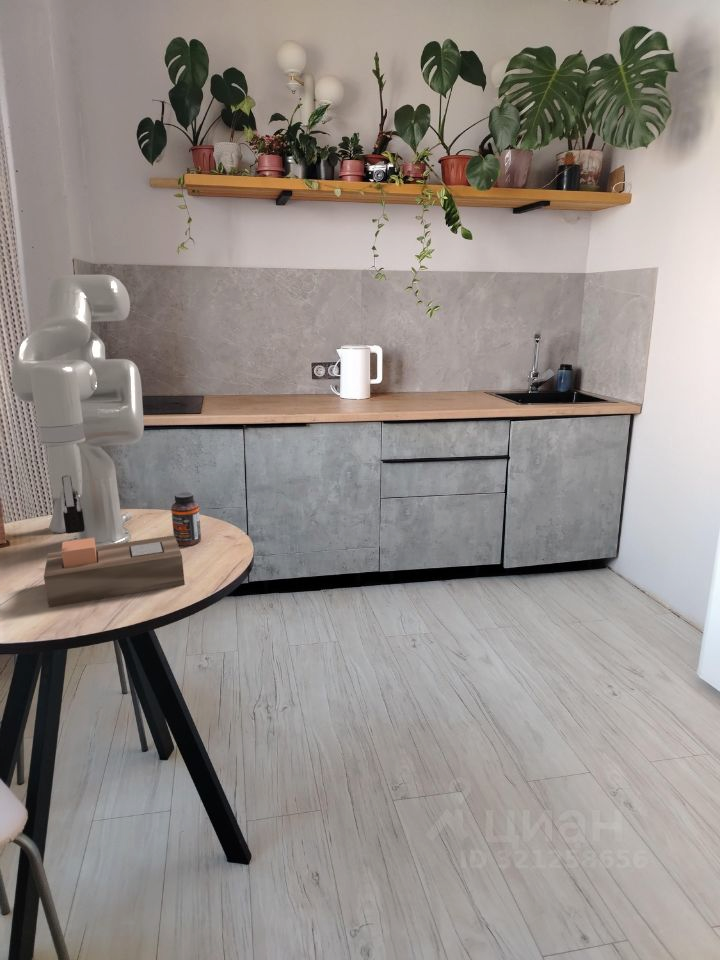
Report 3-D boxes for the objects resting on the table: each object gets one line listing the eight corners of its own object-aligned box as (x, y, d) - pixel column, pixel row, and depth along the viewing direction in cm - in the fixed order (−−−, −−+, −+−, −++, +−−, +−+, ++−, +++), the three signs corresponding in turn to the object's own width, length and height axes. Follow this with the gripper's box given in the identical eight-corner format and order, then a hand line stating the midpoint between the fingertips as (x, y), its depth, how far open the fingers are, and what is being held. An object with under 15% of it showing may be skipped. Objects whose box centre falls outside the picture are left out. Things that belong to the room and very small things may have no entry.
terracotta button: (66, 566, 129) (62, 541, 127) (97, 561, 131) (94, 537, 129) (65, 577, 124) (61, 552, 122) (97, 572, 126) (94, 547, 124)
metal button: (133, 569, 134) (130, 546, 132) (162, 565, 135) (159, 542, 134) (135, 580, 129) (132, 556, 127) (165, 575, 130) (162, 551, 129)
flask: (72, 521, 167) (66, 483, 164) (87, 527, 162) (82, 487, 159) (43, 529, 161) (37, 490, 159) (58, 535, 157) (52, 495, 154)
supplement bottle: (170, 546, 149) (165, 497, 145) (180, 537, 154) (175, 490, 151) (196, 547, 148) (191, 498, 145) (205, 537, 154) (201, 490, 150)
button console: (52, 581, 131) (47, 553, 130) (177, 562, 140) (174, 535, 138) (48, 607, 121) (43, 576, 119) (184, 584, 129) (181, 555, 127)
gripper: (41, 429, 125) (55, 522, 130) (35, 443, 112) (51, 547, 116) (84, 426, 128) (96, 517, 132) (84, 438, 114) (97, 540, 119)
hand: (75, 531), depth 124 cm, fingers closed
